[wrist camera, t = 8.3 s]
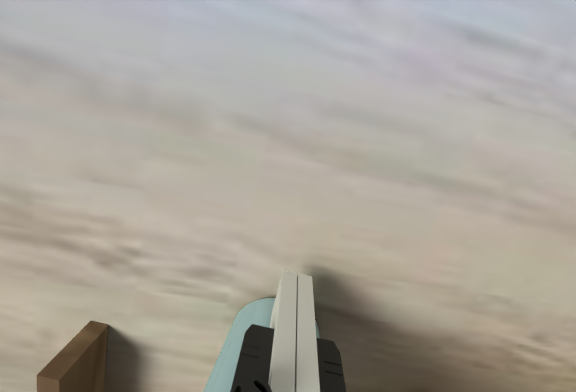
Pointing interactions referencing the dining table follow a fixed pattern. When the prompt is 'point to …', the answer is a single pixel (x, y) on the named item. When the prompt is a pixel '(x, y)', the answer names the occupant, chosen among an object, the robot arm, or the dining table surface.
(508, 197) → the dining table surface
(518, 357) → the dining table surface
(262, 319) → the cup
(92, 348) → the corral
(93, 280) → the dining table surface
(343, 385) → the robot arm
